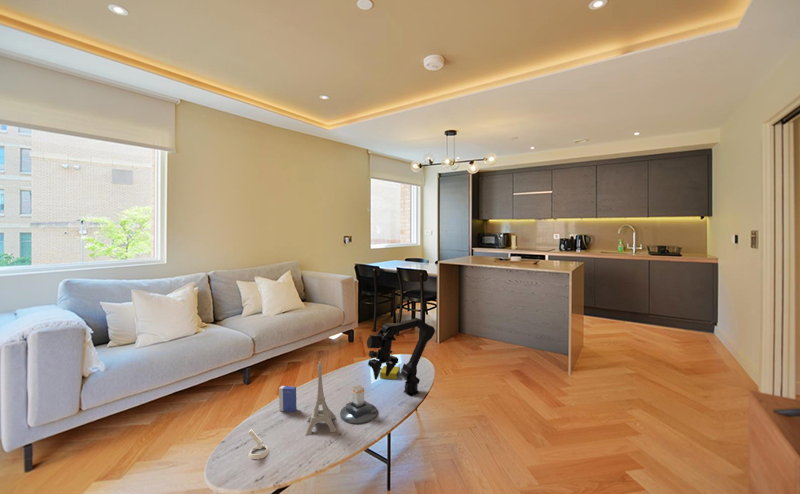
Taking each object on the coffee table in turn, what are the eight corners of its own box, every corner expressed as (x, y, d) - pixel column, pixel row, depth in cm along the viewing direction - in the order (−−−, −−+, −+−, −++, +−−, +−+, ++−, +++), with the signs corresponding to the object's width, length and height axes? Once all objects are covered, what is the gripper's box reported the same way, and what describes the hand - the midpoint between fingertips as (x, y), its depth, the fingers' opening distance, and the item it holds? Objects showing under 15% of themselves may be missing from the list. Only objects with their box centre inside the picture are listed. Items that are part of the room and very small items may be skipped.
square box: (360, 408, 168) (359, 385, 167) (364, 411, 165) (364, 387, 164) (353, 411, 165) (352, 387, 165) (357, 414, 162) (357, 390, 162)
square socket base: (364, 400, 178) (364, 392, 178) (384, 414, 164) (384, 405, 164) (333, 412, 167) (333, 403, 166) (352, 428, 153) (352, 418, 152)
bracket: (378, 358, 218) (401, 359, 215) (378, 370, 218) (401, 371, 216) (372, 367, 203) (396, 369, 200) (372, 380, 203) (396, 382, 200)
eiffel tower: (335, 415, 164) (334, 355, 162) (336, 431, 150) (334, 366, 149) (307, 419, 161) (305, 357, 159) (305, 435, 148) (303, 368, 146)
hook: (237, 438, 137) (252, 425, 140) (255, 460, 138) (270, 446, 141) (235, 445, 130) (251, 430, 133) (255, 468, 131) (270, 453, 134)
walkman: (296, 409, 170) (296, 385, 169) (294, 412, 167) (293, 388, 166) (282, 408, 171) (281, 385, 170) (279, 410, 168) (278, 387, 168)
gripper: (385, 342, 190) (380, 370, 189) (362, 346, 175) (358, 376, 174) (400, 347, 183) (396, 376, 182) (378, 352, 168) (374, 383, 168)
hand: (381, 377), depth 177 cm, fingers open, 9 cm apart
